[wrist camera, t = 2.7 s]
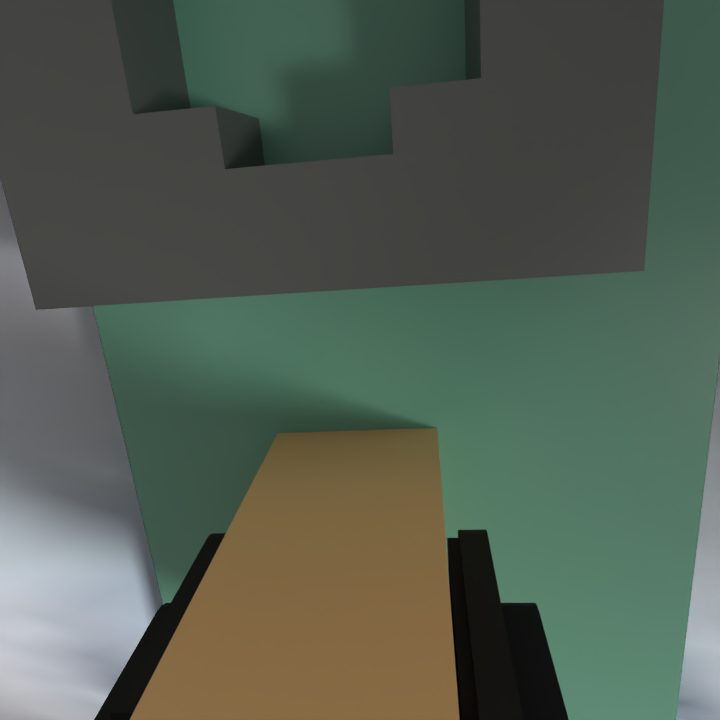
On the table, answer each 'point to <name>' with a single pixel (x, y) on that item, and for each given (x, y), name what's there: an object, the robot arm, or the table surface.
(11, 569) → the table surface
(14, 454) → the table surface
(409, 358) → the header board
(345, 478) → the plug
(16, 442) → the table surface
